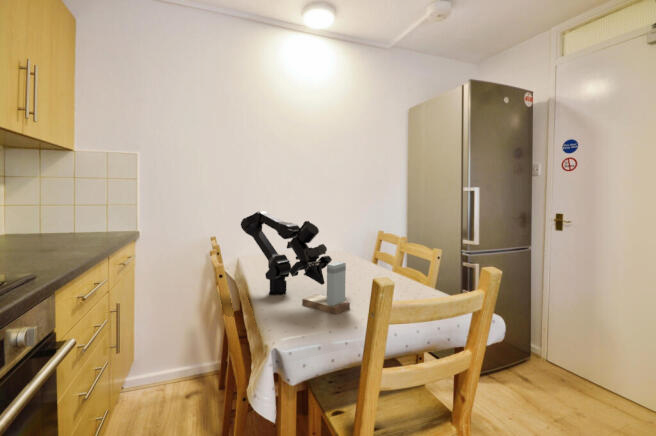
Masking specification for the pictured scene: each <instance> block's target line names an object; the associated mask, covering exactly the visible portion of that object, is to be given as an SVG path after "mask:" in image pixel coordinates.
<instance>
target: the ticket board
mask: <svg viewBox="0 0 656 436" xmlns="http://www.w3.org/2000/svg"><path fill="white" fill-rule="evenodd" d="M301 304H302V305H303V306H307V307H311V308H313V309H317V310H320V311H323V312H326V313H330V314H334V315H338V314H341V313H343V312H345V311H347V310H349V309H350V308H351V307H350V306H351V305H350V304H351V303H350V302H349V301H346V300H345V301H343V302H341V303H339V304H336V305H334V306H332V305H329V304H327V295H326V296H325V295H321V294H312V295H309V296H307V297H304V298H302V299H301Z"/></svg>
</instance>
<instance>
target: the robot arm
mask: <svg viewBox="0 0 656 436" xmlns="http://www.w3.org/2000/svg"><path fill="white" fill-rule="evenodd" d="M263 225H266V226H267V227H269V228H271V229H273V230H275V231H276V233H277V235H278V236H279V237H281V238H282V239H283V240H289V239H290V241H287V245H286V249H288V250H289V249H292V251H293V252H294V254H295V260H296V262H295V263H294V264H291V263H290V262H291V261H290V260H289V259H288V257H287V256H286V254H279V253H278V251H277V249H275V248H274V245H272V243H271V242H270V240H269V239H268V238H267V235H266V234H265V233H264V232H263ZM240 228H241V229H242V231H244V232H245V234H247V235H248V236H250V237H252V238H253V240H254V241H255V243H256V245H257V246H258V247H259V249H260V251H261V252H262V254H263V256H265V258H266V259H267V261H268V262H267V263H268V265H267V267H268V270H267V271H266V272H265V279H266V280H268V281H269V295H285V294H286V292H287V280H286V278H288V277H289V276H290V275H291V277H297V276H299V271H304V273H303V276H306V277H308V278H310V279H312V281H313V280H314V281H315V282H316V283H318V284H320V285H322V286H323V285H324V284H325V278H324V275H323V269H325V268H327V265H328V264H331V263H332V260H333V259H332V257H331V256H330V255H326V254H327V251H328V247H327V246H326V244H324V243H321V244H319V245H318V246H315V247H309V246H308V244H310V243H311V242H312V241H313V240H314V238H316V237H317V235H319V232H320V230H319V228H318V226H316V225H315V224H314V223H311V222H310V221H309V220H305V221H304V222H303V224H302V225H301V226H300V227H299V225H298V224H297V223H293V222H286V221H283V220H281V219H280V218H277V217H276V216H274V215H272V214H270V213H268V212H267V211H257V212H255V213H253V214H251V215H249V216H247V217H243V218H242V220H241V221H240ZM322 255H323V256H322ZM298 260H299V261H298Z"/></svg>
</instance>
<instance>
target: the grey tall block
mask: <svg viewBox="0 0 656 436" xmlns="http://www.w3.org/2000/svg"><path fill="white" fill-rule="evenodd" d="M346 263H347V262H342V261H337V262H331V263H329V264H328V265H327V266H326V297H327V304H329V305H332V306H334V305H336V304H339V303H341V302H343V301H345V302H346V271H347V269H346V268H347V266H346Z"/></svg>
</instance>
